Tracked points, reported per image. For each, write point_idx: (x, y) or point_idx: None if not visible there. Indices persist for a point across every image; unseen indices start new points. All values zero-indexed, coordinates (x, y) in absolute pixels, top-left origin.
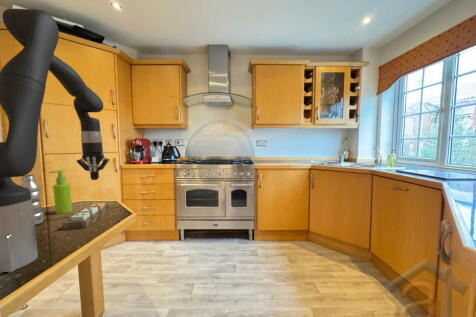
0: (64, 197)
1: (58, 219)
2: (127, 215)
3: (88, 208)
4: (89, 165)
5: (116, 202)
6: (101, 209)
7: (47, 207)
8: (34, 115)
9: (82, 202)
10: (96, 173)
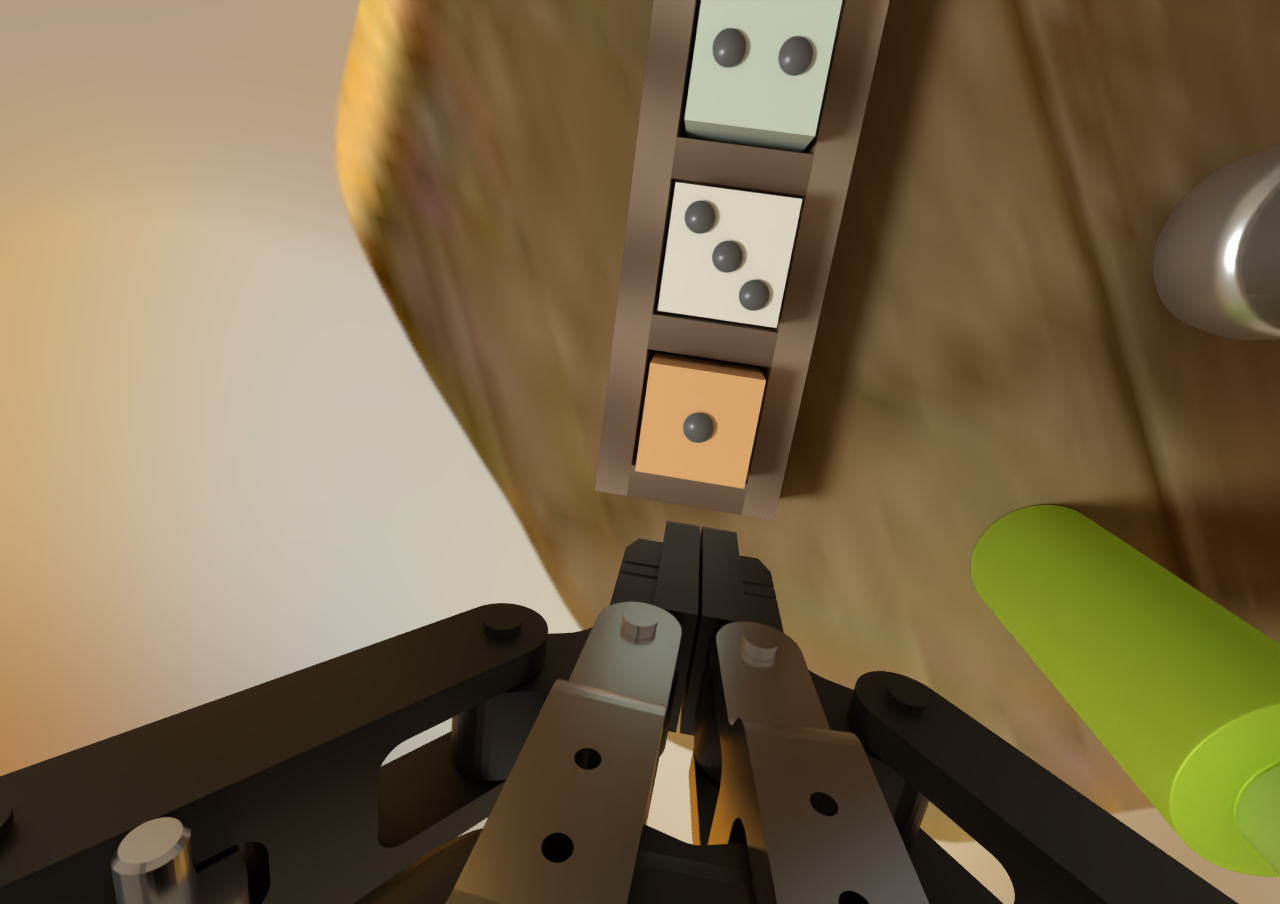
0: (1109, 598)
1: (1021, 332)
2: (388, 216)
3: (743, 282)
4: (801, 750)
5: None
6: (633, 329)
7: None
8: None
9: None
10: (627, 597)
